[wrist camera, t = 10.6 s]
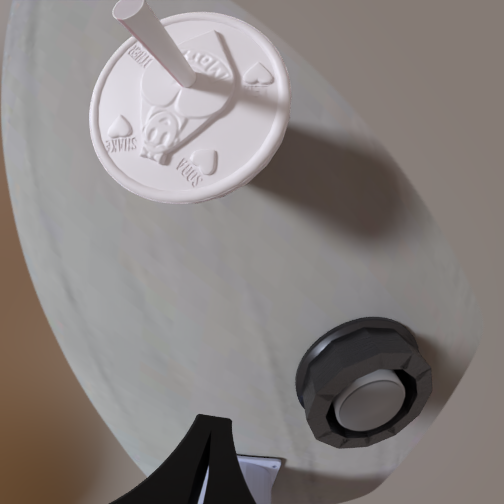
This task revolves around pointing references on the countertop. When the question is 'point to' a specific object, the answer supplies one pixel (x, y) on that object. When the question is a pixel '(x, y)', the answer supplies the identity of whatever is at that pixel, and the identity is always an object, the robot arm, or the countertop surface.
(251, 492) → the robot arm
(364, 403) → the cap
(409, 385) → the dark grey pot
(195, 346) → the countertop surface
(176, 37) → the smoothie
